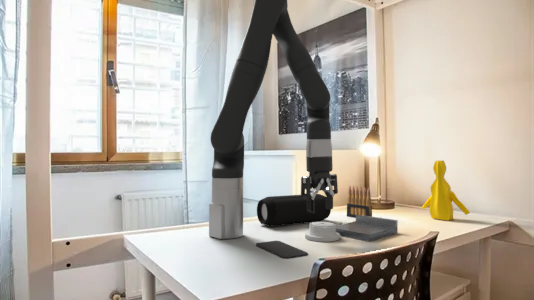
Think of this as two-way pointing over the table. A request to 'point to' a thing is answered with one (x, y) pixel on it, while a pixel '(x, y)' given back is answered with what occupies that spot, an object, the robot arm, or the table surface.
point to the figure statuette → (442, 196)
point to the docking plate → (368, 228)
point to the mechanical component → (322, 232)
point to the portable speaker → (290, 210)
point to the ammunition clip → (359, 202)
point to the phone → (281, 249)
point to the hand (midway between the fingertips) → (320, 210)
